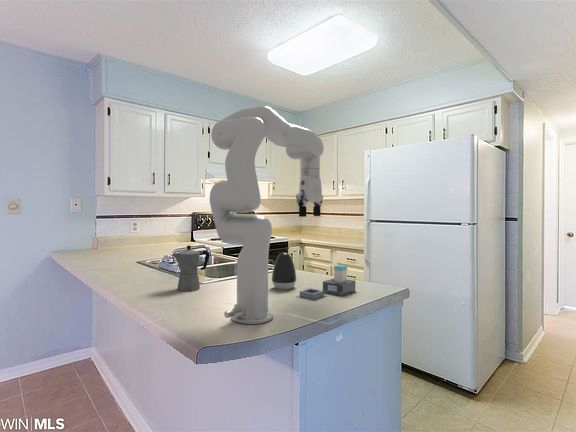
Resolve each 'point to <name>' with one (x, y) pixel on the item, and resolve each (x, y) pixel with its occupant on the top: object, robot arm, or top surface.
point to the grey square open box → (312, 294)
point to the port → (339, 287)
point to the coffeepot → (189, 268)
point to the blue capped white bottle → (340, 273)
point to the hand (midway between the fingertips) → (309, 216)
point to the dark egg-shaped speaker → (284, 272)
